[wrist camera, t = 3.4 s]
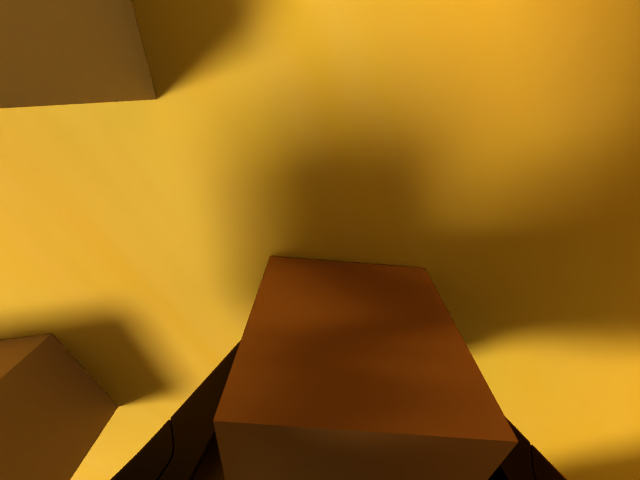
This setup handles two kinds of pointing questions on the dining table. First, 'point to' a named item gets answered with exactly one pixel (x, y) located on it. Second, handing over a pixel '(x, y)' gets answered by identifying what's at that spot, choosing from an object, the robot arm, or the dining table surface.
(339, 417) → the walnut block
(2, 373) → the brown block
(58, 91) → the base block
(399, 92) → the dining table surface
